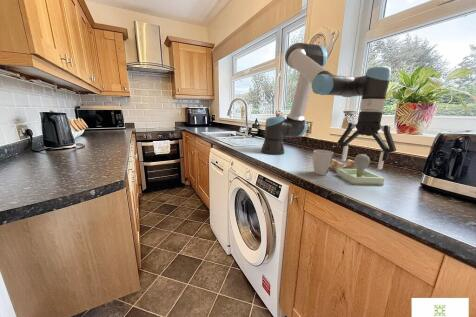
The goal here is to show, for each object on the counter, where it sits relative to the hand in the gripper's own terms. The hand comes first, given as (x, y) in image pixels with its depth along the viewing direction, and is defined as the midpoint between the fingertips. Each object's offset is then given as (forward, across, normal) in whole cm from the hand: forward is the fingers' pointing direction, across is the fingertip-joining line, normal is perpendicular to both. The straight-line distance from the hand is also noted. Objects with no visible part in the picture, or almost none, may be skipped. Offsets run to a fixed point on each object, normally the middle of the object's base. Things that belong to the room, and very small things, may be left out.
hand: (360, 164), depth 79 cm
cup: (+7, -13, -6) cm, 16 cm away
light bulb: (+6, 0, 0) cm, 6 cm away
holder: (+6, -9, +8) cm, 14 cm away
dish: (+6, 0, 0) cm, 6 cm away
